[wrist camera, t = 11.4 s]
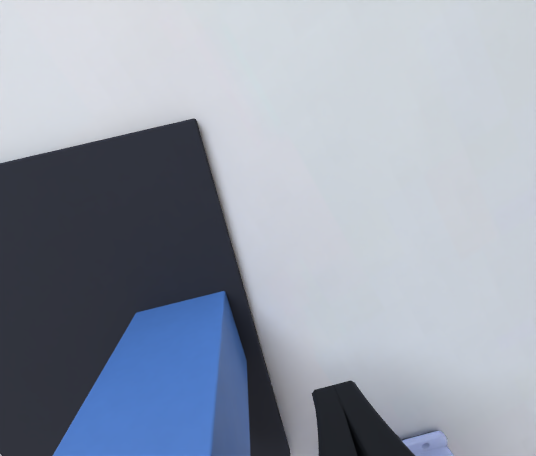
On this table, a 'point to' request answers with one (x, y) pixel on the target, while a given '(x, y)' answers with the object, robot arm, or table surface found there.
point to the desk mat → (109, 274)
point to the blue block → (169, 388)
